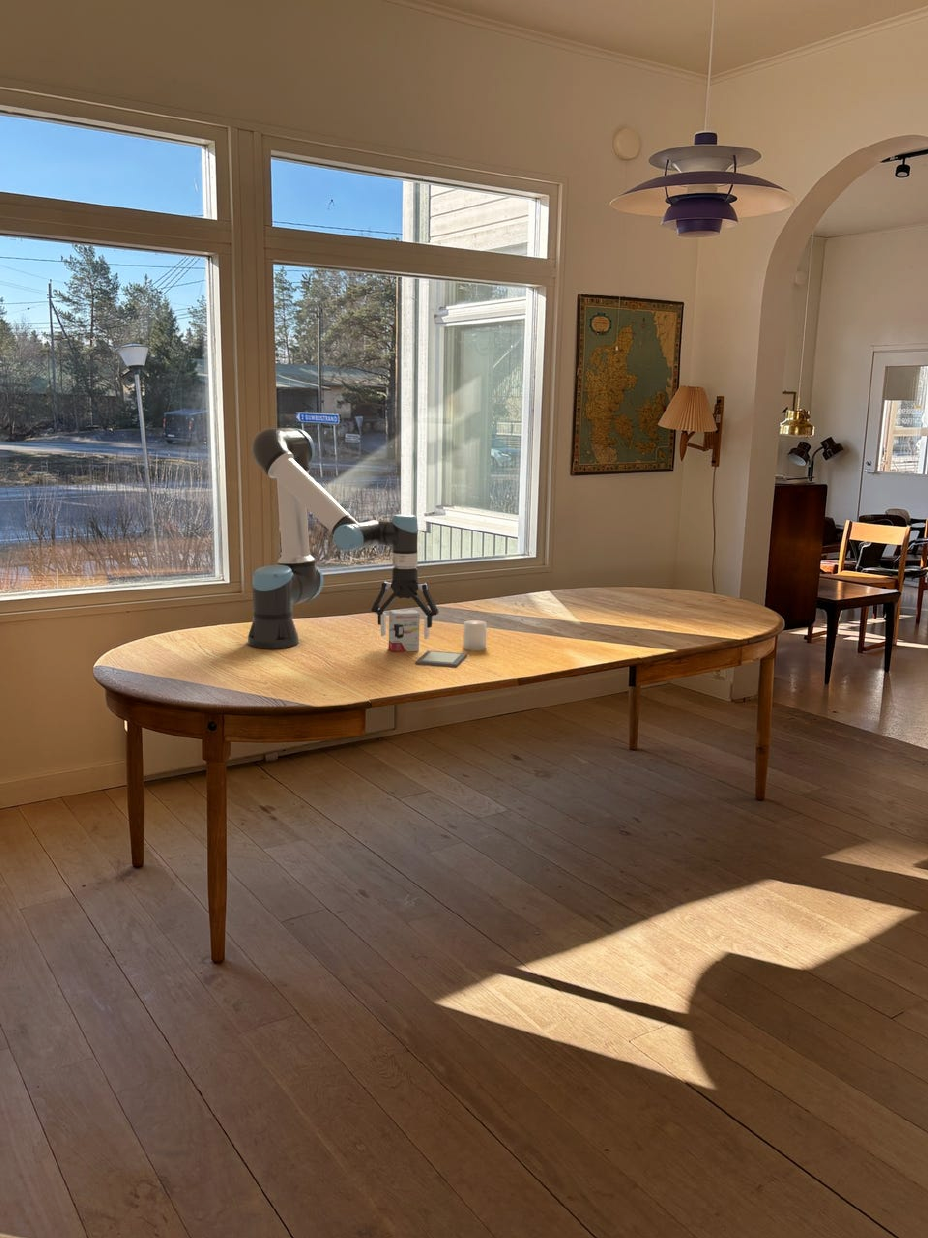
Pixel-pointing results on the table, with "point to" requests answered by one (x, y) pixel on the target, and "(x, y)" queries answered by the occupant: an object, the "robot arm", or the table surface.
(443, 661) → the e-reader
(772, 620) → the table surface
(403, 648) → the ink box
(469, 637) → the white ceramic tumbler
